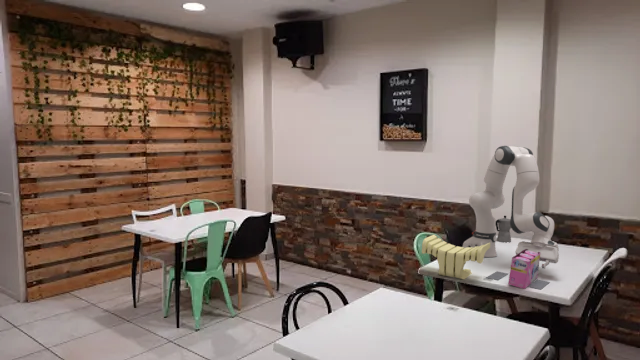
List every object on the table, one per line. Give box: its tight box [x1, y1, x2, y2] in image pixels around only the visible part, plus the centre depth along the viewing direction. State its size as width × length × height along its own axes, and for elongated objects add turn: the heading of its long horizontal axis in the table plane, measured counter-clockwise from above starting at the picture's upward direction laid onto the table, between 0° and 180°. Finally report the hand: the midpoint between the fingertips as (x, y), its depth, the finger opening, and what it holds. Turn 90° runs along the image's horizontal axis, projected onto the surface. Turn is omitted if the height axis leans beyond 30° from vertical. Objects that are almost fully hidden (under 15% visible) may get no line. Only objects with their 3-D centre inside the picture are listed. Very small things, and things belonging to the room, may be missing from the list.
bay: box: [485, 270, 551, 290], centre depth 223 cm, size 26×15×1 cm, turn 48°
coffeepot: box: [495, 215, 512, 243], centre depth 309 cm, size 15×9×18 cm, turn 116°
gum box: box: [507, 249, 540, 290], centre depth 220 cm, size 24×8×14 cm, turn 140°
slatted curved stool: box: [421, 234, 490, 280], centre depth 230 cm, size 30×16×18 cm, turn 54°
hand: (533, 266), depth 227 cm, fingers open, 8 cm apart
